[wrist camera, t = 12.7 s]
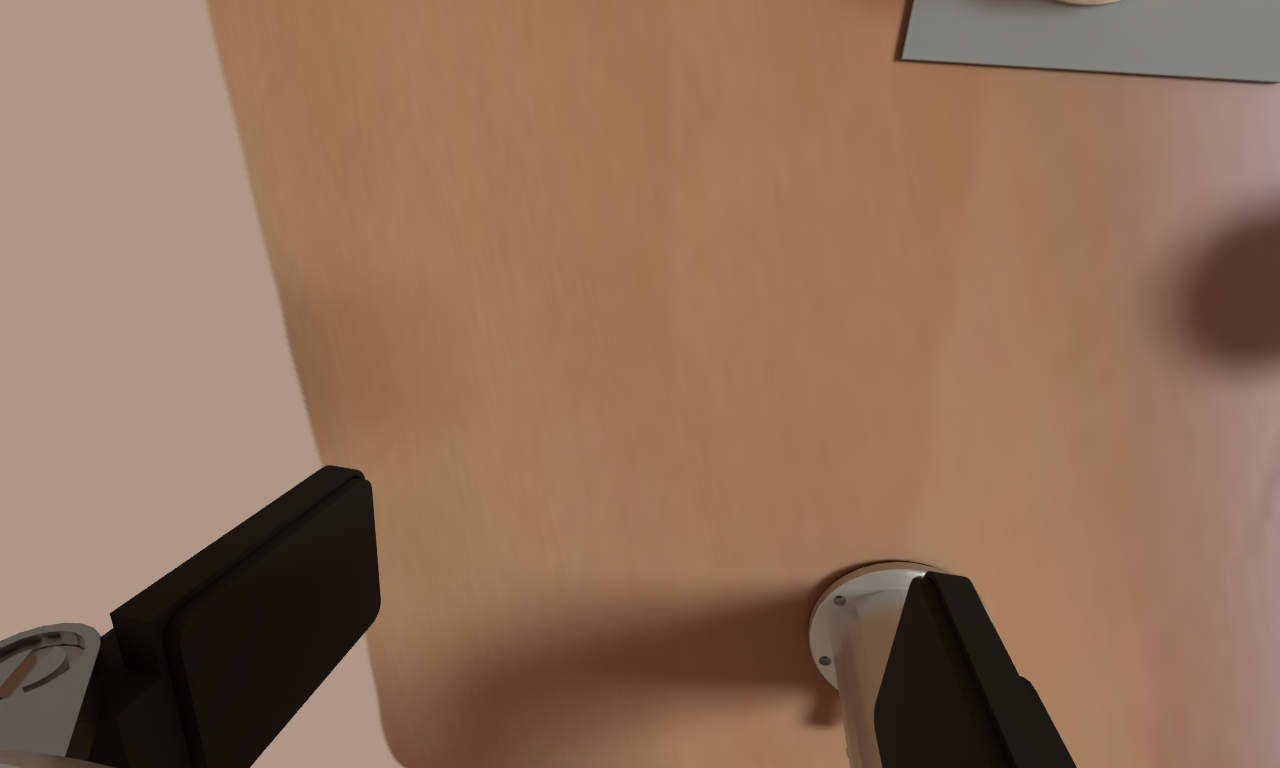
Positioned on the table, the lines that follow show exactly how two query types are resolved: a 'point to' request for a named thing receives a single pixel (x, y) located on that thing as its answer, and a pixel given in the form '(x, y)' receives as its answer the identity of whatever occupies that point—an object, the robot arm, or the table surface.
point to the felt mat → (1103, 36)
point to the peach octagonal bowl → (1088, 2)
